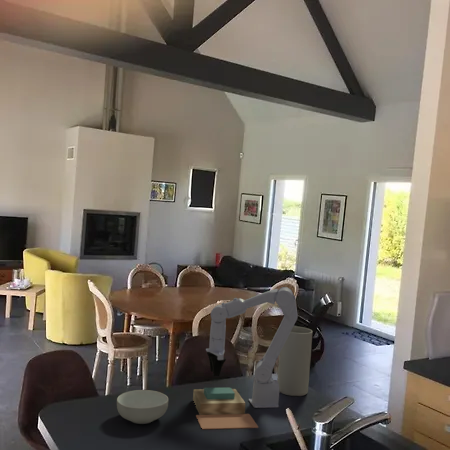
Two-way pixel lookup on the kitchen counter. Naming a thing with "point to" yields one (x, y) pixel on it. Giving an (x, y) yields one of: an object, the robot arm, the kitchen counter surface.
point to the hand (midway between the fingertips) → (214, 373)
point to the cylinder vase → (295, 362)
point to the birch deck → (218, 404)
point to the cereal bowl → (142, 405)
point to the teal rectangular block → (219, 393)
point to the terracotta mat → (226, 421)
